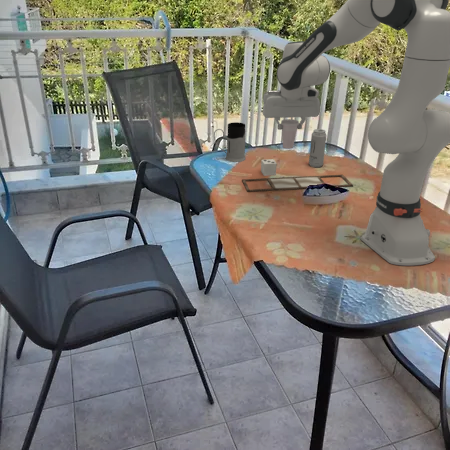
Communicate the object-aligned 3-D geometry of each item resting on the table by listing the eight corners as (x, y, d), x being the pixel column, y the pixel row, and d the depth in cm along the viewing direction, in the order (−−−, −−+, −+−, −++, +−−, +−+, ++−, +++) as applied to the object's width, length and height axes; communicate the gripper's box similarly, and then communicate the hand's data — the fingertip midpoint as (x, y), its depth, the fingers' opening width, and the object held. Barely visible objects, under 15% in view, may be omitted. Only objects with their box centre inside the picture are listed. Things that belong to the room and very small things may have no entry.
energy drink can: (305, 164, 199) (309, 129, 192) (317, 162, 201) (321, 127, 194) (313, 168, 194) (317, 133, 187) (325, 166, 196) (330, 131, 189)
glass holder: (248, 161, 201) (249, 127, 194) (216, 163, 198) (216, 129, 191) (242, 154, 208) (243, 121, 201) (211, 157, 205) (211, 123, 198)
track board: (353, 186, 178) (353, 185, 178) (247, 192, 172) (247, 190, 172) (342, 175, 187) (342, 174, 187) (242, 180, 182) (242, 179, 182)
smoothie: (296, 150, 170) (300, 112, 163) (279, 149, 170) (281, 111, 164) (296, 144, 175) (299, 107, 169) (279, 144, 176) (281, 106, 169)
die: (275, 175, 187) (276, 163, 185) (263, 175, 187) (264, 163, 184) (272, 170, 192) (273, 159, 189) (260, 171, 191) (261, 159, 189)
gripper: (265, 92, 159) (263, 132, 165) (323, 91, 161) (319, 130, 168) (261, 88, 164) (259, 127, 171) (317, 87, 167) (313, 125, 173)
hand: (289, 129), depth 169 cm, fingers closed on smoothie, 6 cm apart
